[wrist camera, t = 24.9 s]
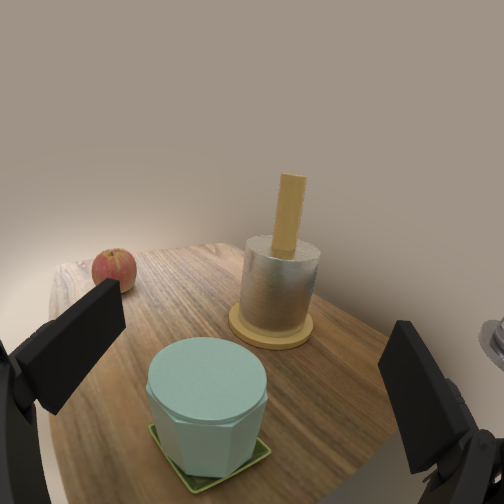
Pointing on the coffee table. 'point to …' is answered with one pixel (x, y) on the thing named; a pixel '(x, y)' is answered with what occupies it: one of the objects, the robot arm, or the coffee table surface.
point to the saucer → (203, 483)
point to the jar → (207, 404)
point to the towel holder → (278, 278)
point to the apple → (115, 268)
